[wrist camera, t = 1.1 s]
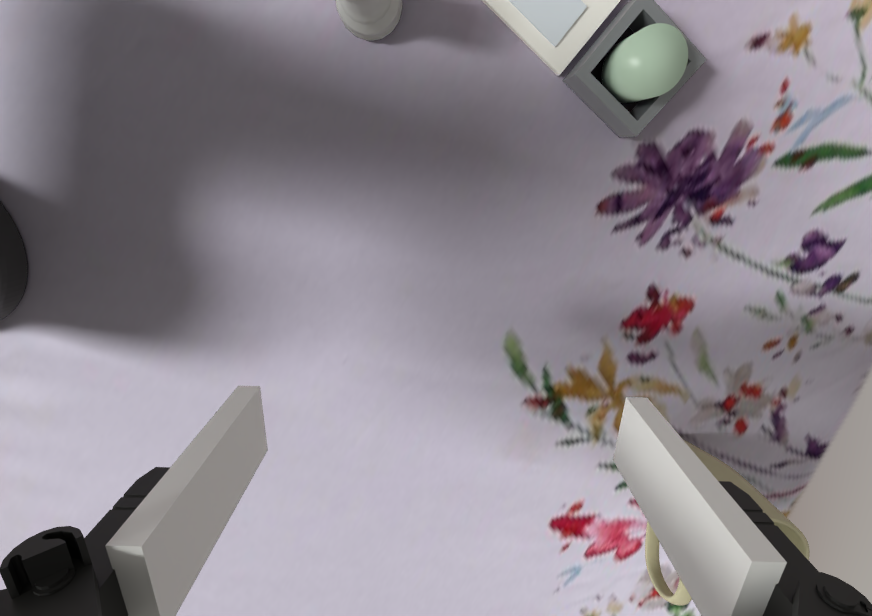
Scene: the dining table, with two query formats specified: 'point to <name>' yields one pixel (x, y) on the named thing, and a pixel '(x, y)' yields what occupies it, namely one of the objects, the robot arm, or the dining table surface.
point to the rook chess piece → (370, 17)
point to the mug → (728, 474)
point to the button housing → (599, 98)
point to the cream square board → (553, 25)
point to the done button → (645, 63)
